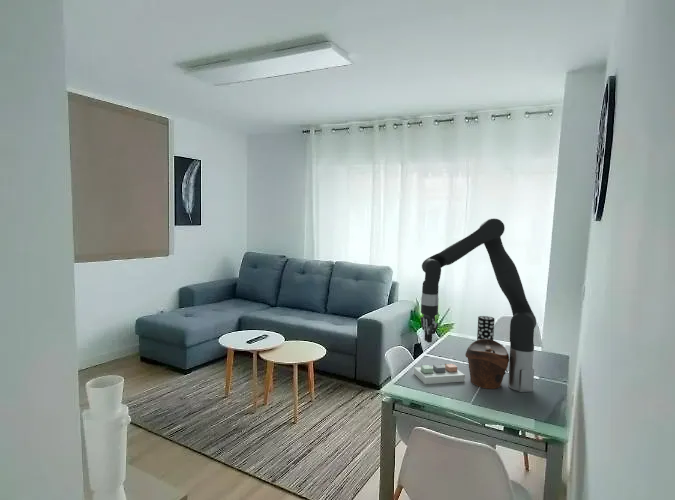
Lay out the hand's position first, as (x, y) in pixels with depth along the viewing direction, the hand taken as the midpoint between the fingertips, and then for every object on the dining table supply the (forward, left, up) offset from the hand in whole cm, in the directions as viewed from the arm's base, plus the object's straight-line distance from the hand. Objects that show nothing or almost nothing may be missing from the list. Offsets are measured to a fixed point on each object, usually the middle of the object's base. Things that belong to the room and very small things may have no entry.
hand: (428, 341), depth 176 cm
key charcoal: (0, -6, -14) cm, 15 cm away
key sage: (0, 0, -14) cm, 14 cm away
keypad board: (0, -6, -17) cm, 18 cm away
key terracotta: (0, -12, -14) cm, 18 cm away
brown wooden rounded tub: (-10, -24, -17) cm, 31 cm away
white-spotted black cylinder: (+27, -47, -17) cm, 57 cm away
